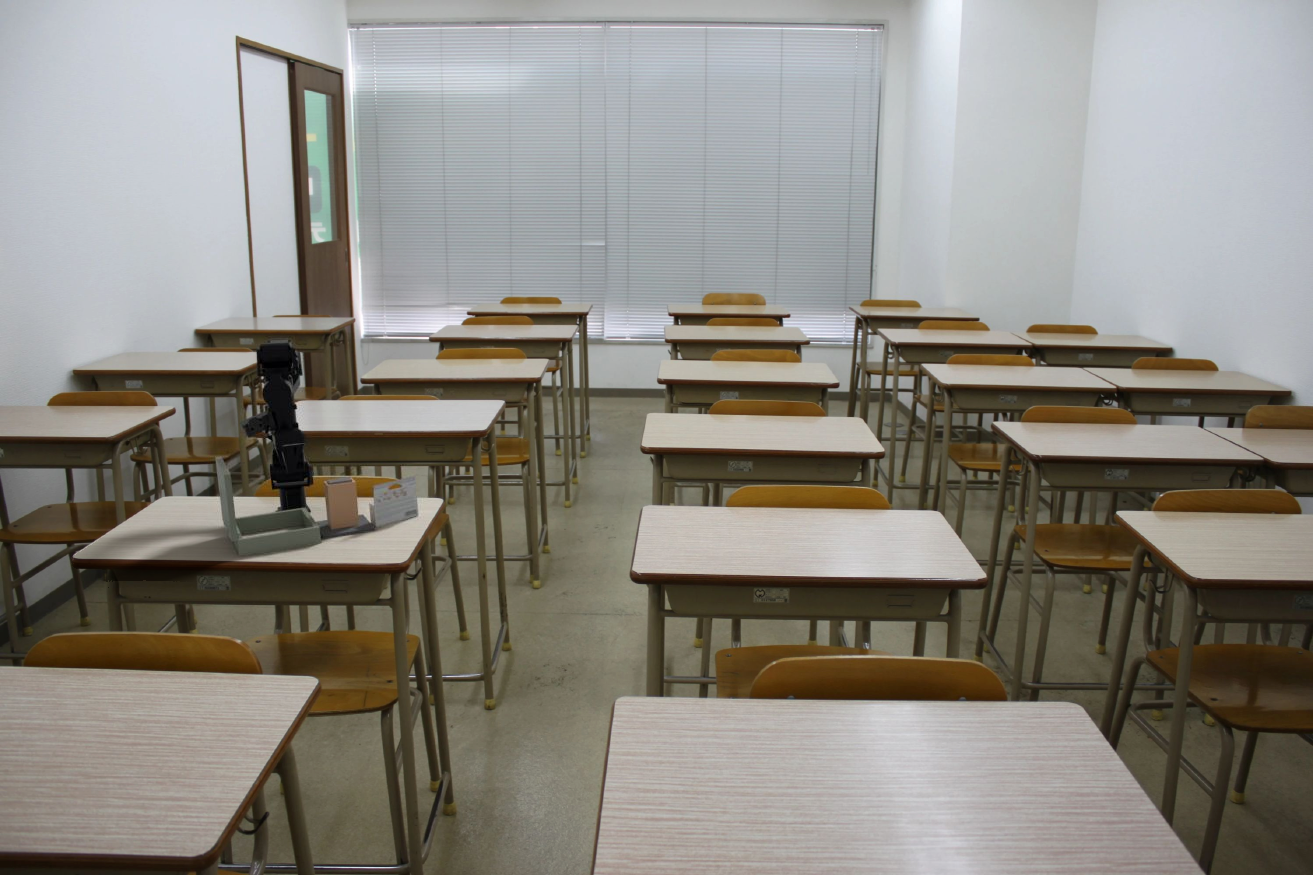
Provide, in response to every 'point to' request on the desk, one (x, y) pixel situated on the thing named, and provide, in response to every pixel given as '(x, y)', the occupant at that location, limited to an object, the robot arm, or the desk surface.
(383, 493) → the ink cartridge box
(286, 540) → the case
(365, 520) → the rubber mat
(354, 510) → the box
